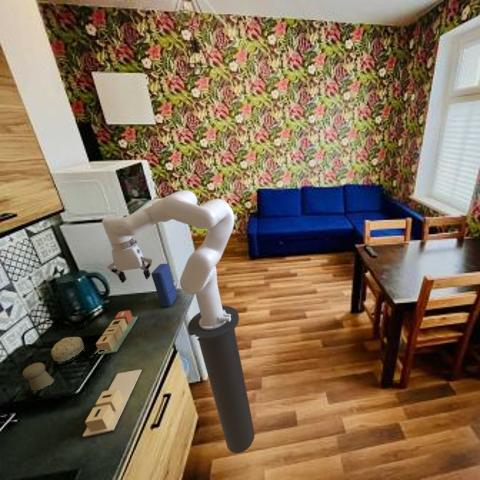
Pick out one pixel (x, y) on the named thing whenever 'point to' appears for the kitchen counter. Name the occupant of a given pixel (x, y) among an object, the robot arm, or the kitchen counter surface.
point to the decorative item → (67, 348)
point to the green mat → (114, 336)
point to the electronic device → (164, 285)
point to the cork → (37, 376)
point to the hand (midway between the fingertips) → (136, 279)
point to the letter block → (124, 316)
